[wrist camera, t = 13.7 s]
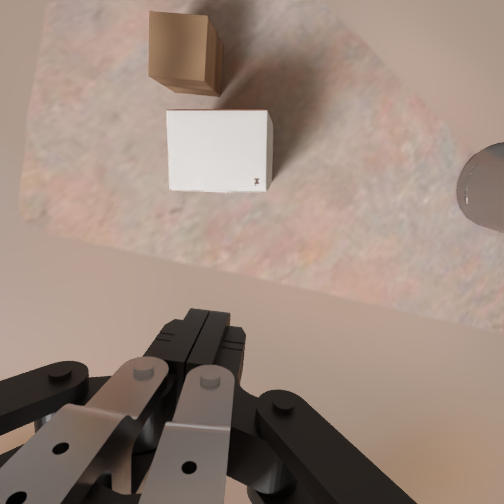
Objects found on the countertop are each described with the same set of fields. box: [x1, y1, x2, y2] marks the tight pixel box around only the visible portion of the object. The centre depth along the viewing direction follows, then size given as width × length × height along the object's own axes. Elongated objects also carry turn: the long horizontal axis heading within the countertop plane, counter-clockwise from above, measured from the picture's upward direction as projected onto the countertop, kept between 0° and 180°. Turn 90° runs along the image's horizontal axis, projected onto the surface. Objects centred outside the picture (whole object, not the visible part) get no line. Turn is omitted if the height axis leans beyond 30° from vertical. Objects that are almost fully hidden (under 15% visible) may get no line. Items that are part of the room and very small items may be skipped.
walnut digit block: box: [149, 11, 223, 97], centre depth 34 cm, size 5×5×8 cm
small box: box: [166, 109, 273, 193], centre depth 33 cm, size 8×6×13 cm
